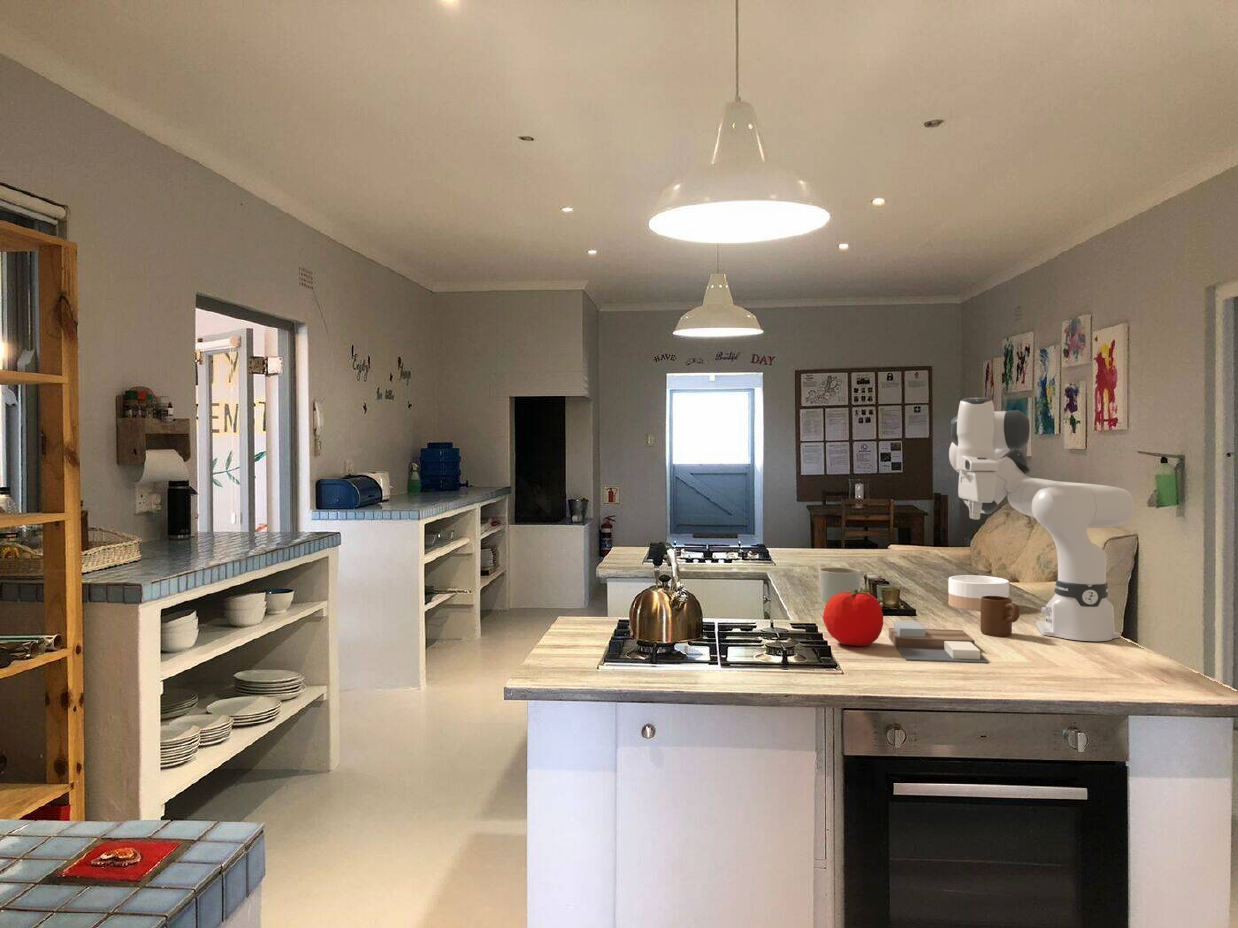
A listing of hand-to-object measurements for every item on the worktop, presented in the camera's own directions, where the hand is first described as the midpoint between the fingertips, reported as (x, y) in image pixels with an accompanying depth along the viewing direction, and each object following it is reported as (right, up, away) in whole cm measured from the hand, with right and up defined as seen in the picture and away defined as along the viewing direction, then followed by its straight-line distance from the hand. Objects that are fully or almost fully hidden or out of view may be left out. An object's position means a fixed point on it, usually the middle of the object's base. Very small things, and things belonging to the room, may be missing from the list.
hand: (974, 519), depth 219 cm
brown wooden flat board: (-11, -31, +1) cm, 33 cm away
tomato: (-30, -31, +1) cm, 44 cm away
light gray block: (-15, -29, +2) cm, 32 cm away
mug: (+12, -31, +11) cm, 35 cm away
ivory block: (-7, -31, -11) cm, 34 cm away
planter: (-20, -30, +54) cm, 65 cm away
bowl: (+22, -30, +53) cm, 65 cm away
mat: (-12, -31, -11) cm, 35 cm away
